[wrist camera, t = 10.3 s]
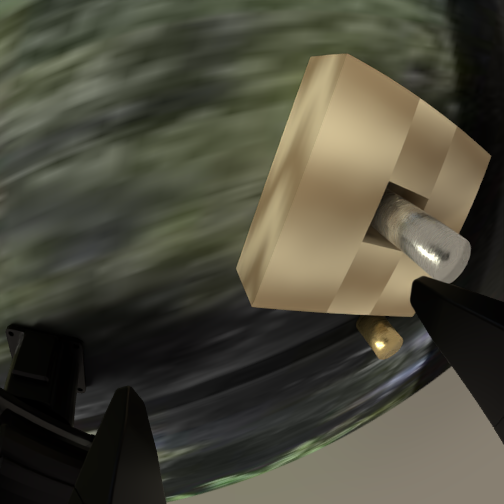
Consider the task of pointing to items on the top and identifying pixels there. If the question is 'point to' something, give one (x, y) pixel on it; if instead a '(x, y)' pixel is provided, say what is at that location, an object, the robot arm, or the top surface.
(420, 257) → the long steel pin
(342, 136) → the birch hole block
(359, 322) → the short brass pin
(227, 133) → the top surface
